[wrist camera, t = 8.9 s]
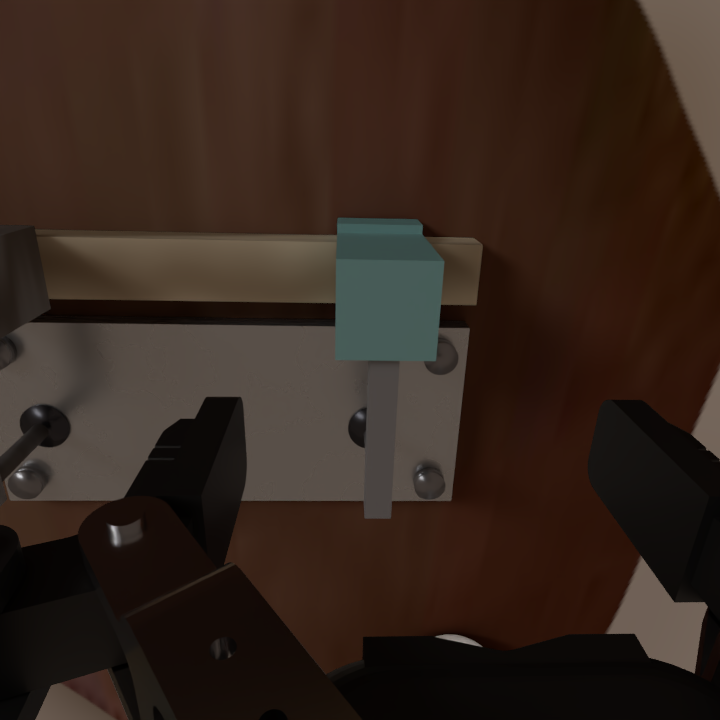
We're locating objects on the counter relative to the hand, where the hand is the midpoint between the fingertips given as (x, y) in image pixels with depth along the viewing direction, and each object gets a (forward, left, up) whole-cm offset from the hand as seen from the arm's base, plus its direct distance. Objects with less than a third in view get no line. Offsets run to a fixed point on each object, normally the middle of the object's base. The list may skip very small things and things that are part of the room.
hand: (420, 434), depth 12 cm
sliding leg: (+4, 0, -17) cm, 18 cm away
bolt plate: (+9, -8, -17) cm, 21 cm away
